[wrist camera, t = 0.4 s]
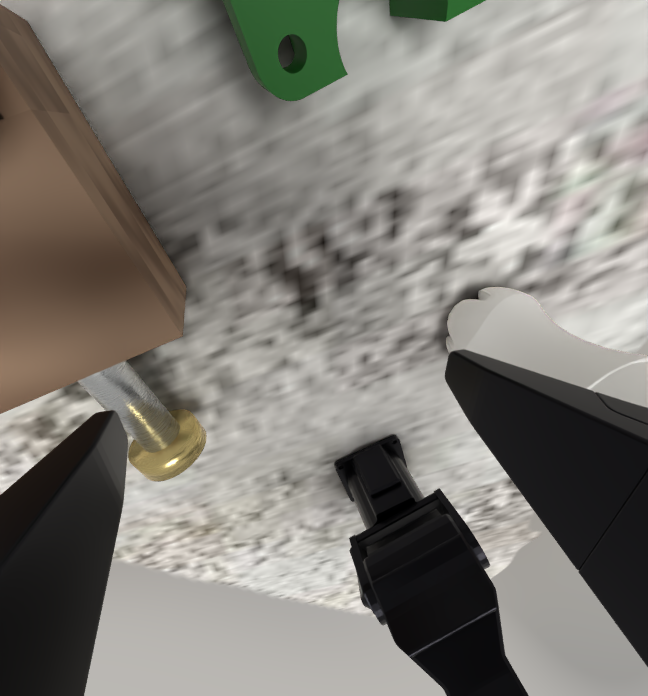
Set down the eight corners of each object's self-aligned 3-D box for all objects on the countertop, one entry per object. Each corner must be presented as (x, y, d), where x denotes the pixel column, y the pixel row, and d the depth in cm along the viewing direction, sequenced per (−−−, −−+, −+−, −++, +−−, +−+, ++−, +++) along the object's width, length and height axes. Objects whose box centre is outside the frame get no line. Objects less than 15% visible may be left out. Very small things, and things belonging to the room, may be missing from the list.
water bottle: (474, 366, 32) (971, 795, 11) (417, 344, 28) (977, 898, 8) (527, 296, 29) (1287, 687, 9) (471, 263, 26) (1493, 771, 5)
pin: (206, 414, 25) (207, 461, 21) (146, 440, 25) (138, 493, 21) (53, 208, 16) (12, 231, 13) (-40, 244, 16) (-109, 277, 13)
